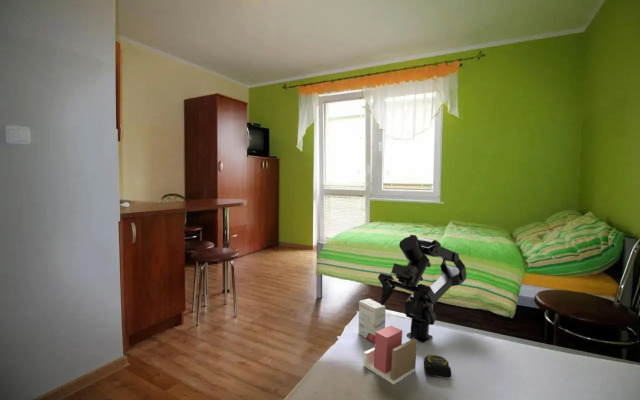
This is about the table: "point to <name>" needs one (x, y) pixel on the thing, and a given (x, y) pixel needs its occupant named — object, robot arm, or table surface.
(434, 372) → the tape measure
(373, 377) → the table surface
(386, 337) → the book
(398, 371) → the book rack
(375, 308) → the ink box
